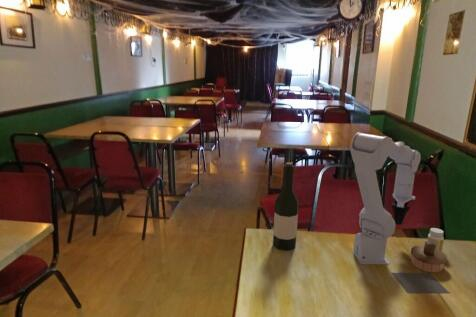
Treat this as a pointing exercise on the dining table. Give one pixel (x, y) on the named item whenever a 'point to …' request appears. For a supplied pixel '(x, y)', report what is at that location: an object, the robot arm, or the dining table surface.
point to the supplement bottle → (436, 238)
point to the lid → (428, 254)
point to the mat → (419, 283)
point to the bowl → (426, 265)
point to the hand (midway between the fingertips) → (398, 219)
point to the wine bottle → (286, 213)
